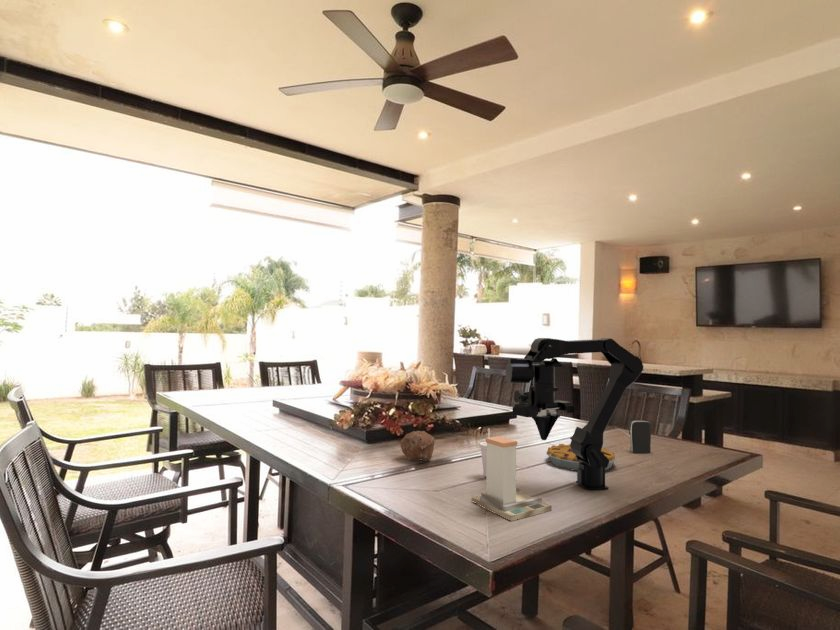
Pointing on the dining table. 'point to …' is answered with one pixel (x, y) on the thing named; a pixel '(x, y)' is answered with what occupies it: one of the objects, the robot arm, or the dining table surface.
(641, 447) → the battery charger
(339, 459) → the dining table surface
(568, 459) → the pie
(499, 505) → the switch base
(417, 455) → the decorative rock
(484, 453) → the smoothie
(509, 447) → the white rectangular tower
